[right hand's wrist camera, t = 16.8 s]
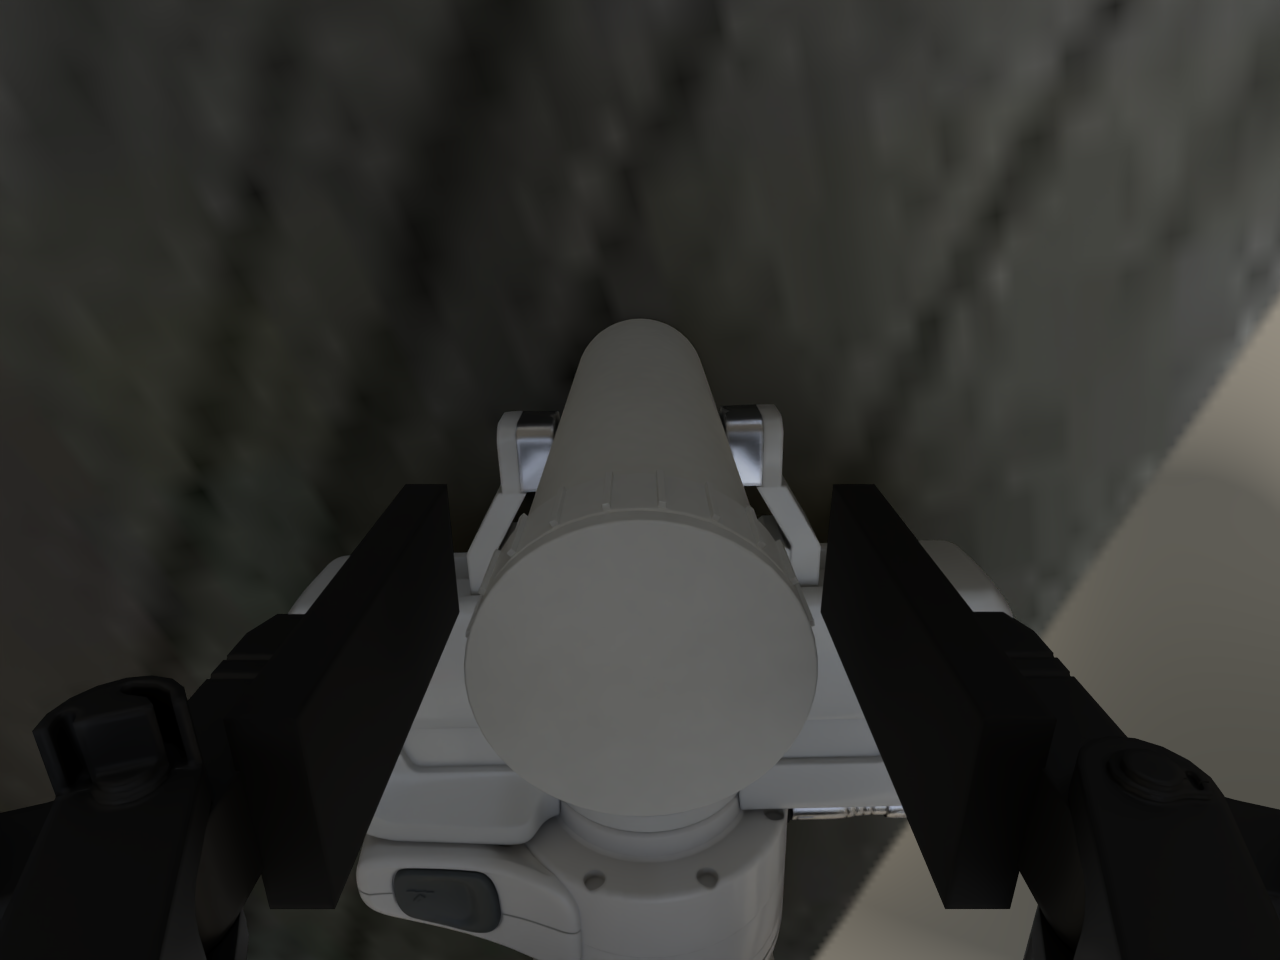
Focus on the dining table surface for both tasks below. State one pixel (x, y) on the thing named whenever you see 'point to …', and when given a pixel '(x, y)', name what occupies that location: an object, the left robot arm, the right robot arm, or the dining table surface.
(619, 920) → the left robot arm
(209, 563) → the dining table surface
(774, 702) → the lid
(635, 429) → the jar
